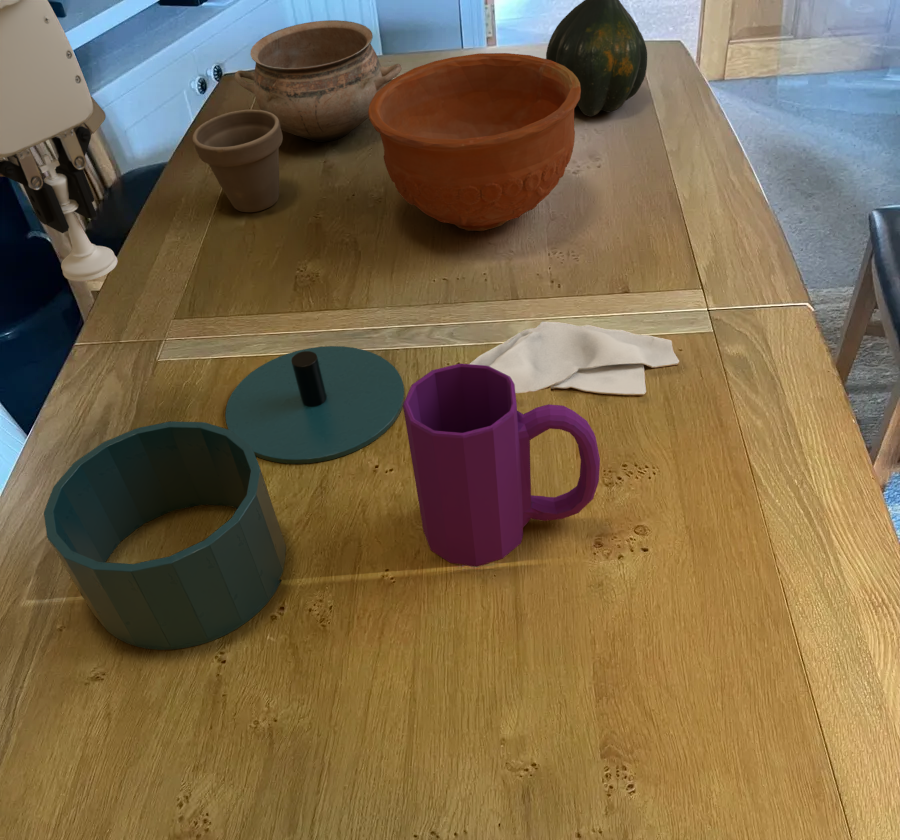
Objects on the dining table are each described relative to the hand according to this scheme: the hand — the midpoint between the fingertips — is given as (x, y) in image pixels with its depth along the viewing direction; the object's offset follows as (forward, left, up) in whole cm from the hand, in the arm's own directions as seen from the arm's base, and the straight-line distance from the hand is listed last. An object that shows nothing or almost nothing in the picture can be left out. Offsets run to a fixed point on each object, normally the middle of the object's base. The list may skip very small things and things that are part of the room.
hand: (70, 219), depth 81 cm
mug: (+36, -20, -23) cm, 47 cm away
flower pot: (+5, +47, -23) cm, 53 cm away
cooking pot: (+14, +67, -23) cm, 73 cm away
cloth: (+42, +4, -23) cm, 48 cm away
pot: (+7, -22, -23) cm, 32 cm away
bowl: (+36, +37, -23) cm, 57 cm away
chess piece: (0, 0, -5) cm, 5 cm away
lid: (+17, 0, -22) cm, 28 cm away
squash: (+54, +67, -23) cm, 89 cm away
